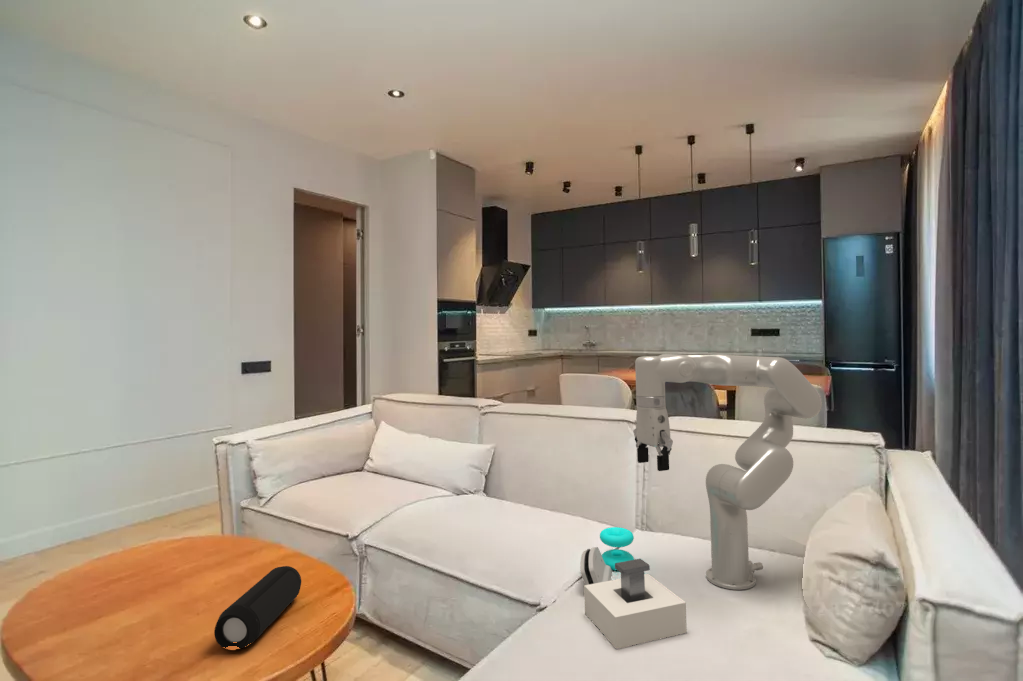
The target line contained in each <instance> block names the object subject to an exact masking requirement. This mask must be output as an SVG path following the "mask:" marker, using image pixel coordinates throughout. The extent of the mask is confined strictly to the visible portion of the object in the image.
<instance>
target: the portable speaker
mask: <svg viewBox="0 0 1023 681" xmlns="http://www.w3.org/2000/svg"><path fill="white" fill-rule="evenodd" d="M301 586H302V577H301V575H300V573H299V571H298V570H297V569H296V568H294V567H293V566H289V565H282V566H277V567H275V568H273V569H272V570H270V571H269V572H268V573H267V574H265V575H264V576H263V577H262V578H261V579H259V581H257V582H256V583H255V584H253V586H251V587H250V588H249V589H248V590H247V591H246V592H245V593H243V594H242V595H241V596H240V597H238V598H237V599H236V600H234V602H232V603H231V604H230V605H229V606H228V607H227V608H226V609H224V610H223V611H222V612H221V613H220V615H219V617H218V619H217V622H216V623H215V627H214V629H213V630H214V638H215V641H216V643H217V645H219V646H220V647H221V648H222V647H225V648H226V647H228V646H237V647H239V648H243V647H245V646H247V645H248V644H250V643H252V642H253V643H254V642H255V641H256V640H257V639H258V638H259V637H260V636H261V635H262V634H263V633H264V632H265V631H266V630H265V629H266V628H267V627H268V626H269V627H270V626H271V624H273V623H274V622H275V620H277V618H278V617H280V615H281V614H282V613H283V612H284V611H285V610H286V609H287V608H288V607H287V606H288V605H289V604H290V603H291V604H292V602H294V601H295V599H296V598H297V597H298V596H297V595H299V593H300V591H301ZM291 604H290V605H291ZM290 605H289V606H290ZM286 607H287V608H286ZM285 608H286V609H285ZM284 609H285V610H284ZM283 610H284V611H283ZM282 611H283V612H282ZM281 612H282V613H281ZM269 627H268V628H269ZM268 628H267V629H268ZM264 630H265V631H264ZM263 631H264V632H263ZM233 642H237V643H233ZM253 643H252V644H253ZM245 648H246V647H245ZM243 649H244V648H243Z"/></svg>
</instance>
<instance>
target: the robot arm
mask: <svg viewBox="0 0 1023 681" xmlns="http://www.w3.org/2000/svg"><path fill="white" fill-rule="evenodd" d="M634 365H635V370H634V371H635V395H636V396H635V400H636V401H635V402H636V417H635V418H636V420H635V429H633V430H632V431H633V436H634V442H635V443H636V444H635V447H636V448H637V449H636V451H637V452H636V455H637V463H638V464H642V463H643V464H644V463H649V461H650V460H649V458H650V457H649V447H648V446H650V447H653V448H655V450H656V452H657V454H658V455H656V465H657V466H656V467H657V469H656V470H657V471H658V472H663V471H669V470H670V455H671V451H672V447H673V443H674V442H673V439H672V437H671V428H670V427H671V426H670V420H669V418H670V417H669V414H668V410H667V408H666V405H667V404H666V382H668V383H680V384H683V383H686V382H687V383H688V382H695V383H696V382H697V383H703V384H709V385H712V386H713V385H714V386H725V387H726V386H728V387H729V386H730V387H733V386H734V387H735V386H736V387H761V388H762V387H763V388H767V389H766V391H765V393H764V396H763V404H764V418H763V420H762V422H761V424H759V426H758V427H757V428H756V429H755V431H754V432H753V433H752V434H751V435H750V436H749V437H747V439H745V441H743V443H742V444H741V445H739V447H738V448H737V450H736V452H735V454H734V455H735V456H734V459H735V462H736V464H737V465H738V466H739V467H737V466H734V465H731V464H726V463H719V464H715V465H713V466H711V468H710V469H709V470H708V471H707V474H706V476H705V488H706V492H707V493H706V494H707V498H708V504H709V515H710V516H709V518H710V521H709V523H710V525H709V526H710V552H711V556H710V557H711V567H709V568H708V569H707V570H706V572H705V576H706V577H705V578H706V579H707V580H708V581H709V582H710V583H711V584H712V585H714V586H717V587H719V588H723V589H727V590H734V591H739V590H740V591H741V590H748V589H751V588H753V587H754V586H755V585H756V576H755V575H754V574H753V573H754V572H755V571H761V570H763V569H764V565H763V563H762V562H760V561H758V562H754V563H753V562H752V560H750V559H749V537H748V536H749V534H748V533H749V531H748V514H747V511H753V510H757V509H759V508H760V507H762V506H763V505H764V504H766V502H767V501H768V500H769V499H770V498H771V497H772V496H773V495H774V494H775V493H776V492H777V491H778V490H779V489H780V488H781V487H782V486H783V485H784V484H785V482H787V481H788V479H789V478H790V476H791V474H792V472H793V469H794V458H793V454H791V452H790V450H788V449H787V448H786V447H787V446H789V444H790V442H791V441H792V440H793V436H794V425H793V424H794V423H793V422H794V421H793V418H799V419H805V420H806V419H812V418H815V417H816V416H817V415H819V413H820V411H821V410H822V408H823V407H822V405H823V403H822V402H823V401H822V397H821V395H820V393H819V391H818V390H817V389H816V387H814V384H812V383H811V382H810V381H809V380H808V378H806V377H805V375H804V374H803V373H802V371H800V370H799V369H798V368H797V367H796V365H794V364H793V363H792V362H791V361H789V360H788V359H786V358H785V357H781V356H780V357H779V356H758V355H757V356H756V355H736V354H735V355H733V354H703V355H702V354H701V355H698V354H693V355H692V354H676V353H662V354H659V355H657V356H656V355H648V356H646V355H645V356H639V357H637V358H636V359H635V363H634Z"/></svg>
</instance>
